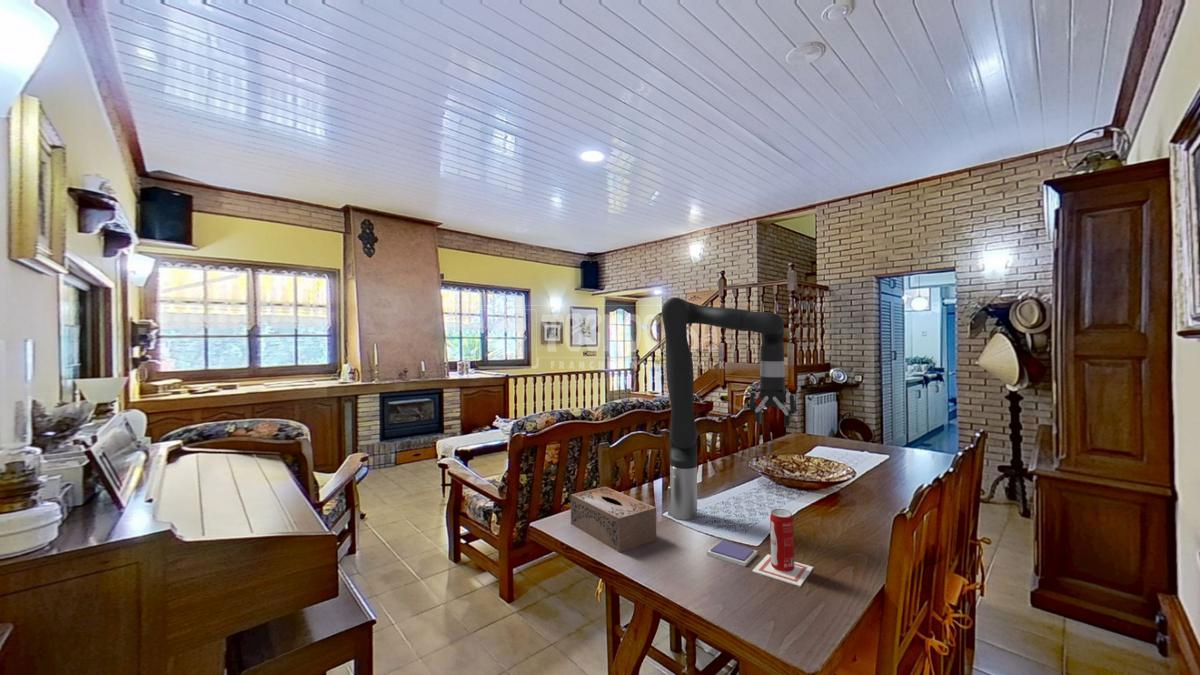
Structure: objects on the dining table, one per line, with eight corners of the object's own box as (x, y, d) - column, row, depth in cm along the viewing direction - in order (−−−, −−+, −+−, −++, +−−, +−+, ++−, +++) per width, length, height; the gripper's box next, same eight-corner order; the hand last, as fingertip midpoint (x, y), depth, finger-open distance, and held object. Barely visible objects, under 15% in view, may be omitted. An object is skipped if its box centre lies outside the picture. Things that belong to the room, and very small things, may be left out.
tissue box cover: (570, 524, 154) (570, 494, 154) (605, 514, 162) (605, 486, 162) (619, 553, 133) (618, 518, 133) (656, 540, 141) (656, 507, 141)
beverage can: (793, 564, 125) (792, 508, 125) (795, 576, 119) (795, 517, 119) (769, 561, 127) (769, 506, 127) (771, 572, 120) (770, 514, 120)
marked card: (752, 571, 122) (752, 570, 122) (767, 555, 131) (767, 553, 131) (800, 586, 114) (800, 585, 114) (813, 568, 123) (813, 566, 123)
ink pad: (707, 555, 131) (707, 549, 131) (720, 543, 138) (720, 538, 138) (745, 566, 124) (745, 561, 124) (757, 554, 131) (757, 549, 131)
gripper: (799, 375, 148) (799, 426, 148) (754, 373, 157) (755, 421, 157) (791, 377, 143) (792, 429, 142) (746, 374, 151) (746, 424, 151)
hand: (772, 425), depth 150 cm, fingers open, 8 cm apart
